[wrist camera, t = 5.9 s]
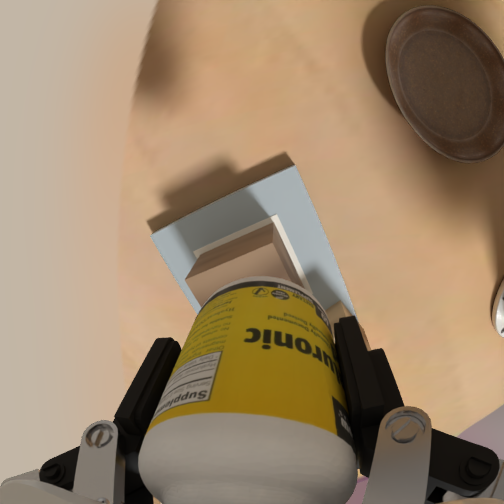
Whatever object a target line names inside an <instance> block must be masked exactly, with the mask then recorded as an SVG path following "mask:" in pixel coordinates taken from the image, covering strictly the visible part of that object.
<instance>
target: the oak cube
mask: <svg viewBox="0 0 504 504" xmlns="http://www.w3.org/2000/svg"><path fill="white" fill-rule="evenodd" d="M325 312H326V315H327V317H328V320H329V323H330V325H331V329H332V333H333V337H334V343H335V336H334V323H338V322H339V318H342V317H348V316H353V315H352V314H351V313H350V311H349V310H348V309H347V308H346V306H345V305H344V304H343V303H342V301H341V300H340V301H338V302H337V303H335V304H334V305H332V306H331V307H329V308H328V309H326V310H325ZM358 324H359V323H358ZM359 327H360V330H361V333H362V336H363V339H364V342H365V345H366V347H367V350H368V351H370V350H371V348H370V345H369V342H368V340H367V337H366V334H365V332H364V329H363V328H362V327H361V325H360V324H359Z"/></svg>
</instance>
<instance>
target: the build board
mask: <svg viewBox="0 0 504 504" xmlns="http://www.w3.org/2000/svg"><path fill="white" fill-rule="evenodd" d="M273 222H274V224H275V226H276V228H277V230H278V232H279V234H280V236H281V238H282V240H283V243H284V245H285V247H286V249H287V251H288V253H289V255H290V258H291V260H292V262H293V264H294V266H295V268H296V271H297V273H298V275H299V277H300V279H301V281H302V284H303V286H304V288H305V290H307V291H308V292H309V293H311V294H312V295H313V296H314V297H315V298H316V299H317V300H318V302H319V303H320V304H321V306H322V307H323V309H324V310H326V309H328V308H329V307H331V306H332V305H334V304H335V303H337V302H338V301H340V300H341V301H342V303H343V304H344V305H345V306H346V308H347V309H348V310H349V311H350V313H351V314H352V315H355V316H356V313H355V311H354V308H353V305H352V302H351V299H350V297H349V294H348V291H347V288H346V286H345V283H344V280H343V278H342V275H341V272H340V270H339V267H338V265H337V262H336V260H335V257H334V254H333V252H332V249H331V247H330V244H329V242H328V239H327V237H326V235H325V232H324V230H323V227H322V225H321V222H320V220H319V218H318V215H317V213H316V211H315V208H314V206H313V204H312V201H311V199H310V197H309V195H308V192H307V190H306V188H305V186H304V183H303V181H302V179H301V177H300V174H299V172H298V170H297V168H296V166H295V164H294V165H292V166H289V167H287V168H285V169H283V170H280V171H278V172H276V173H274V174H271V175H269V176H267V177H265V178H263V179H260V180H258V181H256V182H254V183H252V184H250V185H247V186H245V187H243V188H241V189H239V190H237V191H235V192H233V193H231V194H228V195H226V196H224V197H222V198H220V199H218V200H216V201H214V202H212V203H210V204H208V205H206V206H204V207H202V208H200V209H198V210H196V211H194V212H192V213H190V214H188V215H186V216H184V217H182V218H180V219H178V220H176V221H174V222H172V223H170V224H168V225H167V226H165V227H163V228H161V229H159V230H157V231H155V232H154V233H153V234H151V235H150V237H151V238H152V240H153V242H154V244H155V245H156V247H157V249H158V251H159V252H160V254H161V256H162V257H163V259H164V261H165V263H166V264H167V266H168V268H169V269H170V271H171V273H172V274H173V276H174V278H175V279H176V281H177V283H178V284H179V286H180V288H181V289H182V291H183V292H184V294H185V296H186V297H187V299H188V300H189V302H190V304H191V305H192V307H193V308H194V310H195V311H196V313H197V315H198V313H199V311H200V310H201V306H200V305H199V303H198V301H197V300H196V298H195V296H194V295H193V293H192V292H191V290H190V288H189V287H188V285H187V283H186V282H185V278H186V277H187V275H188V273H189V272H190V270H191V269H192V267H193V265H194V264H195V262H196V261H197V259H198V258H199V256H200V254H203V253H205V252H207V251H209V250H212V249H214V248H216V247H218V246H221V245H223V244H225V243H227V242H230V241H232V240H234V239H236V238H239V237H241V236H243V235H245V234H248V233H250V232H252V231H254V230H257V229H259V228H261V227H264V226H266V225H268V224H271V223H273ZM356 319H357V316H356ZM357 322H358V319H357ZM358 323H359V322H358Z"/></svg>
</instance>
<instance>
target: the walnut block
mask: <svg viewBox="0 0 504 504" xmlns="http://www.w3.org/2000/svg"><path fill="white" fill-rule="evenodd" d="M254 276H268V277H275V278H280V279H284V280H287V281H290V282H292V283H295V284H297V285H299V286H301V287H302V288H304V286H303V284H302V281H301V279H300V277H299V275H298V273H297V271H296V268H295V266H294V264H293V262H292V260H291V258H290V255H289V253H288V251H287V249H286V247H285V245H284V243H283V240H282V238H281V236H280V234H279V232H278V230H277V228H276V226H275V224H274V222H273V223H271V224H268V225H266V226H264V227H261V228H259V229H257V230H254V231H252V232H250V233H248V234H245V235H243V236H241V237H239V238H236V239H234V240H232V241H230V242H227V243H225V244H223V245H221V246H218V247H216V248H214V249H212V250H209V251H207V252H205V253H203V254H200V256H199V258H198V259H197V261H196V262H195V264H194V265H193V267H192V269H191V270H190V272H189V273H188V275H187V277H186V278H185V282H186V283H187V285H188V287H189V288H190V290H191V292H192V293H193V295H194V296H195V298H196V300H197V301H198V303H199V305H200V306H201V308H202V306H203V305H204V303H205V302H206V301H207V300H208V298H209V297H210V296H211V295H212V294H213V293H214V292H216V291H217V290H218V289H220V288H221V287H223V286H225V285H227V284H229V283H231V282H233V281H236V280H239V279H242V278H247V277H254ZM304 289H305V288H304Z"/></svg>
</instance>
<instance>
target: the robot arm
mask: <svg viewBox="0 0 504 504" xmlns="http://www.w3.org/2000/svg"><path fill="white" fill-rule="evenodd" d="M492 322H493V326H494V328H495V330H496V331H497V333H498V334H499V335H500V336H501V337H503V338H504V279H503V281H502V283H501V285H500V288H499V290H498V292H497V295H496V298H495V301H494V306H493V312H492ZM334 336H335V348H336V352H337V356H338V361H339V366H340V370H341V376H342V381H343V386H344V392H345V396H346V402H347V407H348V412H349V418H350V424H351V430H352V434H353V440H354V444H355V448H356V460H357V469H360V474H362V475H364V476H366V477H368V478H369V479H368V483H367V488H366V491H365V495H364V498H363V502H362V504H504V460H501V459H498V457H497V455H496V454H495V453H494V452H493V451H492V450H490V449H488V448H486V447H483V446H480V445H477V444H474V443H471V442H468V441H466V440H463V439H460V438H457V437H454V436H452V435H449V434H446V433H443V432H441V431H438V430H435V429H433V428H432V425H431V419H430V418H429V416H428V414H427V413H425V412H424V411H423V410H421V409H419V408H416V407H411V406H404V403H403V400H402V398H401V395H400V392H399V389H398V387H397V384H396V381H395V378H394V376H393V373H392V370H391V368H390V365H389V363H388V360H387V357H386V355H385V352H384V350H383V349H382V348H380V349H375V350H370V351H368V350H367V347H366V345H365V342H364V339H363V336H362V333H361V330H360V327H359V324H358V322H357V319H356V316H355V315H353V316H348V317H342V318H339V322H338V323H334ZM181 351H182V350H181V348H180V345H179V343H178V342H177V341H174V339H173V338H171V337H169V338H157V339H156V340H155V342H154V344H153V345H152V347H151V349H150V351H149V353H148V354H147V356H146V358H145V360H144V362H143V363H142V365H141V367H140V369H139V371H138V372H137V374H136V376H135V378H134V380H133V382H132V383H131V385H130V387H129V389H128V391H127V393H126V395H125V397H124V399H123V400H122V402H121V404H120V406H119V408H118V410H117V412H116V414H115V416H114V417H115V419H114V421H113V422H111V421H107V420H101V421H97V422H95V423H93V424H91V425H90V426H89V427H88V428H87V429H86V430H85V431H84V433H83V436H82V439H81V444H80V446H78V447H76V448H74V449H72V450H70V451H67V452H66V453H63V454H61V455H59V456H57V457H54V458H52V459H50V460H48V461H47V462H45V463H44V464H43V466H42V467H41V469H40V470H39V469H36V470H33V471H30V472H27V473H24V474H21V475H18V476H14V477H11V478H8V479H6V480H4V481H3V483H2V484H1V486H0V504H160V501H159V500H157V499H156V498H155V497H154V496H153V495H152V494H151V493H150V492H149V490H148V489H147V488H146V486H145V484H144V483H143V480H142V478H141V476H140V472H139V467H138V457H139V453H140V449H141V446H142V443H143V440H144V437H145V435H146V432H147V430H148V428H149V425H150V423H151V420H152V418H153V416H154V414H155V411H156V409H157V407H158V404H159V402H160V400H161V397H162V395H163V392H164V390H165V388H166V385H167V383H168V381H169V379H170V376H171V374H172V371H173V369H174V367H175V364H176V362H177V360H178V358H179V355H180V353H181Z"/></svg>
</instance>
